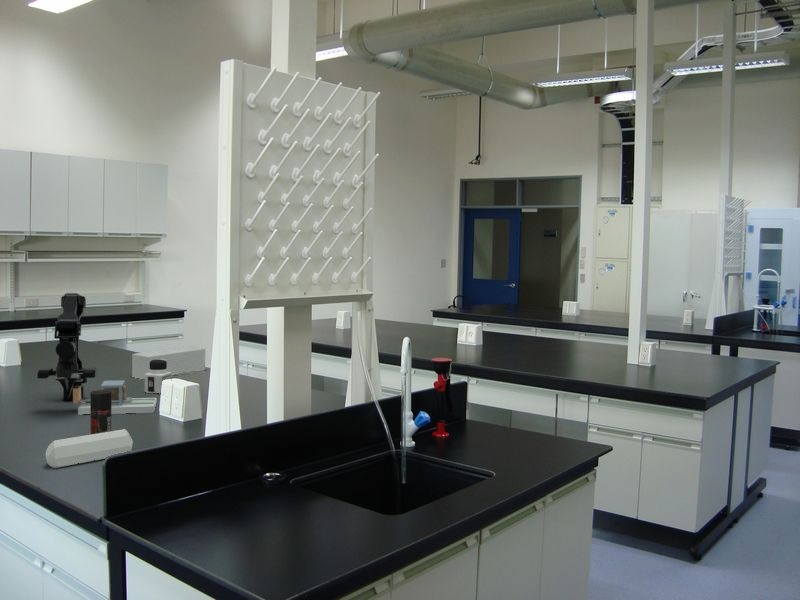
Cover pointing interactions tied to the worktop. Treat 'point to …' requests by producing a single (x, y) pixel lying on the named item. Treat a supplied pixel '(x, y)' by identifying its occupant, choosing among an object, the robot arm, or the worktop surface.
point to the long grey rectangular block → (170, 360)
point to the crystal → (87, 448)
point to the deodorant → (100, 411)
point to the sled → (78, 399)
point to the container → (156, 376)
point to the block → (116, 393)
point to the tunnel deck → (122, 407)
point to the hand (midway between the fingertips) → (68, 396)
